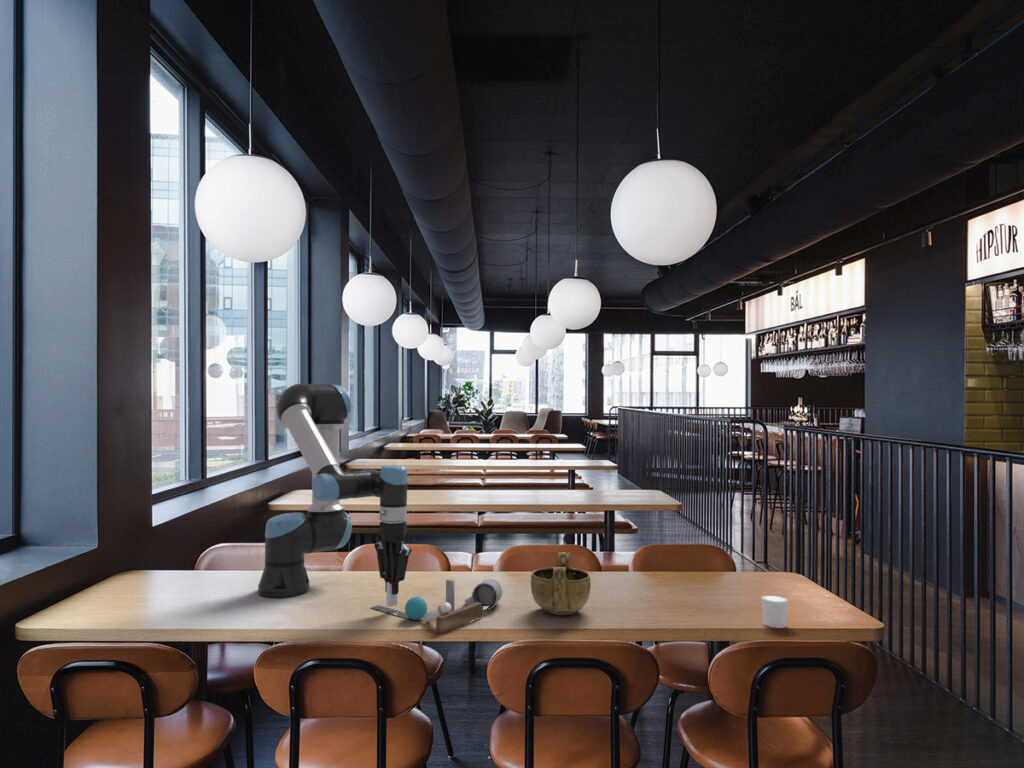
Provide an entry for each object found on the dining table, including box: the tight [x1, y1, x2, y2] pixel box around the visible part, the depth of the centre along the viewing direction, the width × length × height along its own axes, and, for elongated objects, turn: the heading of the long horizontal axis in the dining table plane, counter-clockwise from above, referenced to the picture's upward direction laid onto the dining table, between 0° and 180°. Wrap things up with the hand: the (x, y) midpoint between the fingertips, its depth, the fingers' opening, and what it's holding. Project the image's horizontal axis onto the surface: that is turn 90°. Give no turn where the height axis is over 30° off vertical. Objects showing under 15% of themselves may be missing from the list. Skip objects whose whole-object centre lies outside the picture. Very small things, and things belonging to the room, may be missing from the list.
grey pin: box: [445, 578, 456, 613], centre depth 183 cm, size 2×2×9 cm
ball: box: [404, 596, 428, 621], centre depth 177 cm, size 6×6×6 cm
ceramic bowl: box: [530, 551, 591, 616], centre depth 184 cm, size 22×17×15 cm
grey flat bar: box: [370, 604, 410, 620], centre depth 182 cm, size 16×3×1 cm, turn 53°
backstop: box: [435, 602, 483, 635], centre depth 173 cm, size 2×16×4 cm, turn 143°
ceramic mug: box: [464, 578, 503, 611], centre depth 189 cm, size 11×8×8 cm
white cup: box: [760, 594, 789, 629], centre depth 176 cm, size 7×7×7 cm
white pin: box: [422, 601, 451, 623], centre depth 172 cm, size 2×2×9 cm
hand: (391, 605), depth 183 cm, fingers closed
